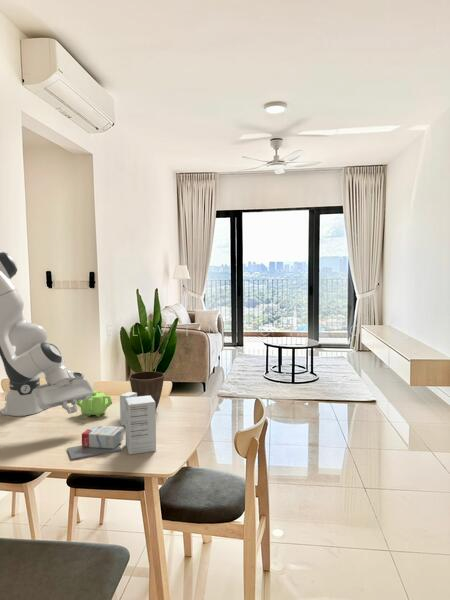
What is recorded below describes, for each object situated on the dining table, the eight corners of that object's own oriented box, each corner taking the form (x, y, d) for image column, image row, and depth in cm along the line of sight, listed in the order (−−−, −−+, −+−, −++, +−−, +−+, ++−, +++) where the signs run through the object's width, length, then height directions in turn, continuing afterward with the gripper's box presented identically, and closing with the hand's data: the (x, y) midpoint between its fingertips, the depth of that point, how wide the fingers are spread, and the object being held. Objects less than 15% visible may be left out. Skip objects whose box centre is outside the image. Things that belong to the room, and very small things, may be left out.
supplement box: (156, 451, 141) (156, 402, 140) (128, 455, 138) (128, 404, 137) (151, 440, 150) (150, 394, 149) (125, 444, 147) (124, 397, 146)
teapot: (113, 414, 180) (113, 391, 179) (88, 420, 171) (88, 397, 171) (99, 408, 188) (99, 386, 187) (75, 414, 180) (74, 391, 179)
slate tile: (67, 449, 142) (67, 447, 142) (114, 441, 150) (114, 439, 150) (71, 460, 134) (71, 458, 134) (121, 450, 142) (121, 449, 142)
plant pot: (152, 418, 174) (152, 380, 173) (122, 414, 179) (122, 377, 178) (170, 408, 188) (170, 373, 187) (142, 404, 193) (141, 370, 192)
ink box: (81, 447, 143) (113, 449, 141) (81, 433, 143) (113, 435, 141) (93, 438, 151) (124, 440, 149) (93, 424, 151) (124, 426, 149)
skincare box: (129, 420, 172) (129, 391, 172) (137, 421, 170) (137, 392, 170) (119, 424, 167) (119, 395, 166) (128, 426, 165) (128, 396, 164)
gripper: (34, 382, 151) (47, 414, 145) (87, 371, 166) (100, 401, 160) (30, 391, 155) (42, 424, 149) (81, 381, 169) (95, 410, 163)
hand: (73, 412), depth 154 cm, fingers closed
